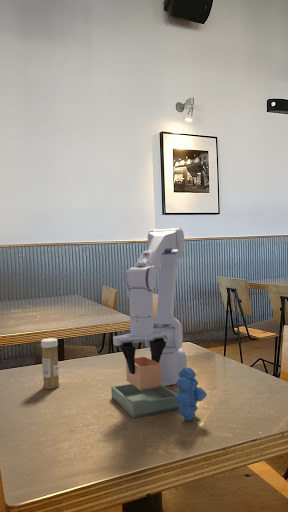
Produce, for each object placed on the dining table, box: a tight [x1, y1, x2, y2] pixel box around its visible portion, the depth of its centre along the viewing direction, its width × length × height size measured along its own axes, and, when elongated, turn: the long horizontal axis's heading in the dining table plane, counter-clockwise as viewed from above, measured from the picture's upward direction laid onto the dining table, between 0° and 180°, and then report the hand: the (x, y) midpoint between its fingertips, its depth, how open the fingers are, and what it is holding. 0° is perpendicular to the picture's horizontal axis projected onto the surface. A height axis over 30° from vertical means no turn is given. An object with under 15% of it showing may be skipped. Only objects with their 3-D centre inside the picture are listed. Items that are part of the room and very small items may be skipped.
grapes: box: [175, 367, 208, 422], centre depth 97 cm, size 12×7×12 cm, turn 162°
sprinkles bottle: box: [40, 337, 60, 390], centre depth 125 cm, size 5×5×14 cm
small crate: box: [125, 355, 162, 391], centre depth 109 cm, size 6×9×6 cm, turn 23°
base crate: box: [111, 382, 180, 419], centre depth 109 cm, size 12×15×3 cm
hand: (143, 371), depth 109 cm, fingers closed on small crate, 5 cm apart
